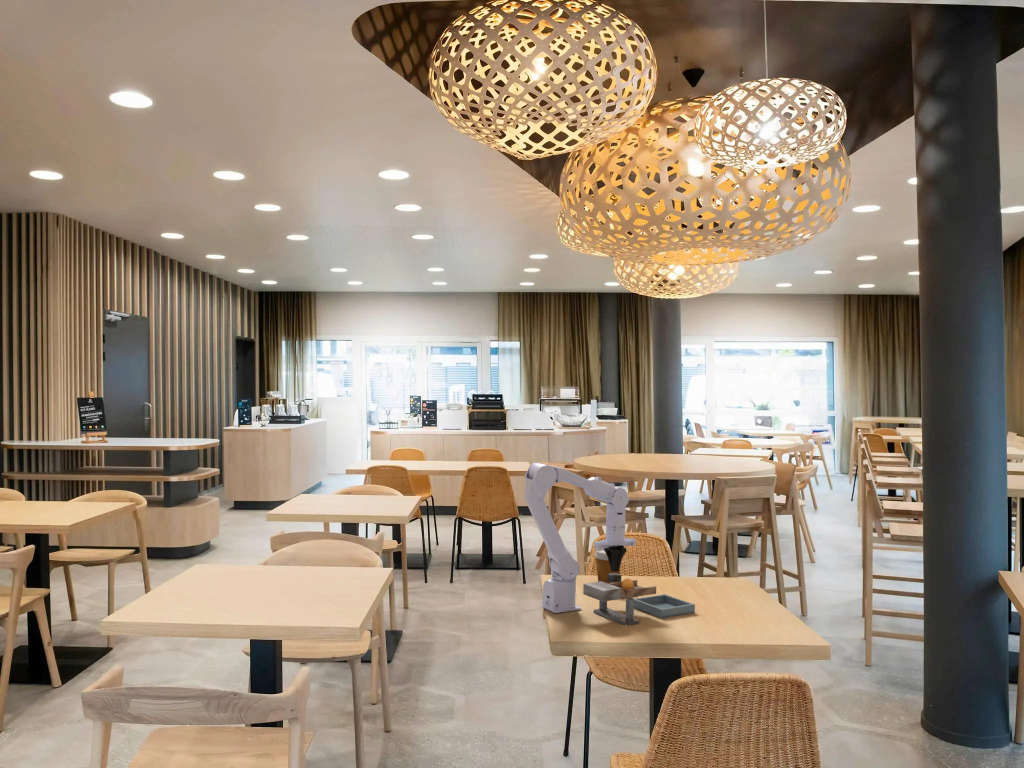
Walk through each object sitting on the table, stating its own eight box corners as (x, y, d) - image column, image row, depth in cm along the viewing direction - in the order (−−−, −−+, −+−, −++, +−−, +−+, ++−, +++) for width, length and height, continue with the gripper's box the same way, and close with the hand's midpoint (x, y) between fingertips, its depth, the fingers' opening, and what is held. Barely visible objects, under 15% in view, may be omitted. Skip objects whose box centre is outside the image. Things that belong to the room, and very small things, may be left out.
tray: (661, 618, 226) (661, 609, 226) (632, 607, 237) (632, 599, 237) (694, 612, 233) (694, 604, 233) (664, 602, 244) (664, 594, 244)
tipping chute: (602, 602, 217) (602, 590, 217) (567, 588, 232) (567, 577, 232) (656, 594, 227) (656, 583, 227) (618, 581, 242) (619, 571, 242)
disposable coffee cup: (621, 592, 255) (622, 555, 255) (592, 589, 257) (593, 553, 257) (623, 585, 264) (624, 549, 264) (595, 583, 266) (595, 547, 266)
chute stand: (625, 625, 218) (626, 600, 218) (593, 612, 230) (594, 588, 230) (639, 623, 221) (639, 598, 221) (607, 610, 233) (607, 586, 233)
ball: (626, 592, 225) (626, 580, 225) (618, 590, 228) (619, 578, 228) (636, 591, 227) (636, 579, 227) (628, 588, 230) (628, 576, 230)
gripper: (604, 530, 232) (603, 576, 232) (642, 526, 240) (641, 571, 239) (590, 526, 238) (589, 571, 238) (627, 523, 246) (626, 566, 245)
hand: (614, 570), depth 239 cm, fingers closed
